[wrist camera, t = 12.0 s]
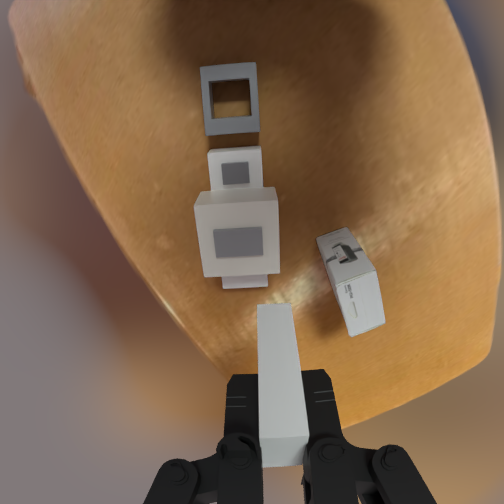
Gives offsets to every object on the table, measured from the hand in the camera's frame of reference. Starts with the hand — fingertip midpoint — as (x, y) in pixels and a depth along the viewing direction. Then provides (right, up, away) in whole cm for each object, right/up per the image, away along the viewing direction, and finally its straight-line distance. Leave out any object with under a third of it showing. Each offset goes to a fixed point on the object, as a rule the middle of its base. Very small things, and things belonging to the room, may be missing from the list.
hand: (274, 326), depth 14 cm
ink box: (+11, +3, +29) cm, 31 cm away
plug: (-3, +8, +25) cm, 26 cm away
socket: (-3, +8, +26) cm, 27 cm away
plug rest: (-3, +21, +19) cm, 29 cm away
